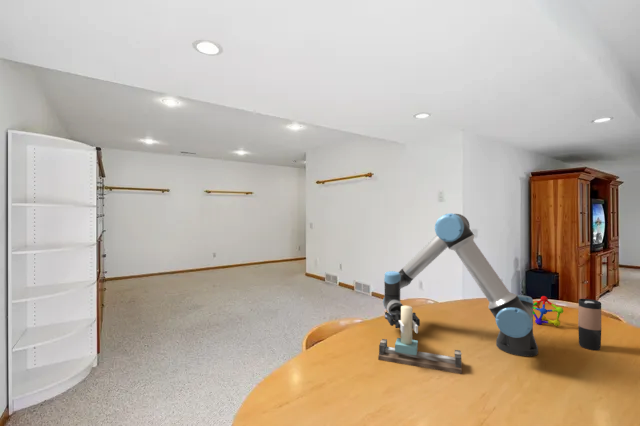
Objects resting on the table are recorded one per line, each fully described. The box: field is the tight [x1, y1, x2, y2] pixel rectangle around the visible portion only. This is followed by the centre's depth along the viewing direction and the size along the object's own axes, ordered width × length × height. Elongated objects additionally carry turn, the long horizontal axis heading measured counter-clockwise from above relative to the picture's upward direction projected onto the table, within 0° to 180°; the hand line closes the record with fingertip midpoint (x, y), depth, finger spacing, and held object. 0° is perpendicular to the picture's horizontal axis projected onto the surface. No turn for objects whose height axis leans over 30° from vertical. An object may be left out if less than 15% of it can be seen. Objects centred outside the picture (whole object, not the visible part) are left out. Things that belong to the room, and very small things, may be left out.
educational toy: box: [533, 295, 564, 327], centre depth 164 cm, size 16×13×15 cm
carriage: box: [394, 305, 419, 355], centre depth 125 cm, size 8×7×17 cm
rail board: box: [377, 338, 463, 375], centre depth 123 cm, size 30×10×5 cm, turn 69°
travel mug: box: [577, 298, 602, 352], centre depth 136 cm, size 8×8×20 cm
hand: (410, 329), depth 120 cm, fingers closed on carriage, 4 cm apart
